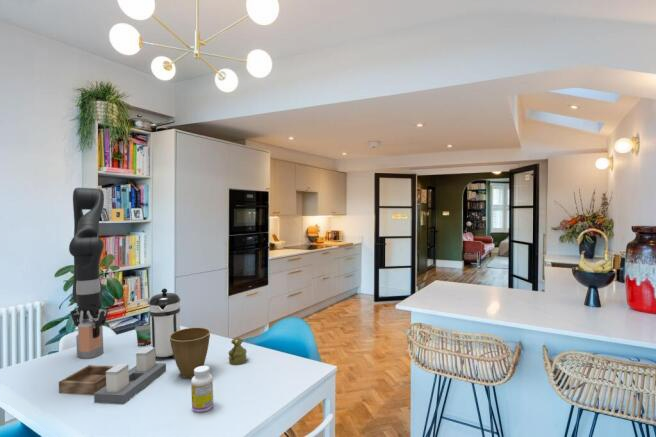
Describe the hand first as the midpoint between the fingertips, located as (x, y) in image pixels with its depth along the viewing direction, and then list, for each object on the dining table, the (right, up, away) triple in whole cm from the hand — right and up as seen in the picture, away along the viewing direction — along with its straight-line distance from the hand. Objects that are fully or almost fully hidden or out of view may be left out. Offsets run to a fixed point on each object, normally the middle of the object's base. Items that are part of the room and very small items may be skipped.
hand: (90, 337), depth 137 cm
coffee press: (+16, -17, +28) cm, 36 cm away
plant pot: (+35, -17, +8) cm, 39 cm away
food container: (+2, -17, +43) cm, 46 cm away
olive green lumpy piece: (+50, -17, +19) cm, 56 cm away
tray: (0, -18, +1) cm, 18 cm away
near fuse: (+15, -18, -8) cm, 25 cm away
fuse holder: (+16, -18, -1) cm, 24 cm away
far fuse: (+17, -17, +7) cm, 26 cm away
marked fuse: (0, -4, 0) cm, 4 cm away
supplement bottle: (+47, -18, -17) cm, 53 cm away
